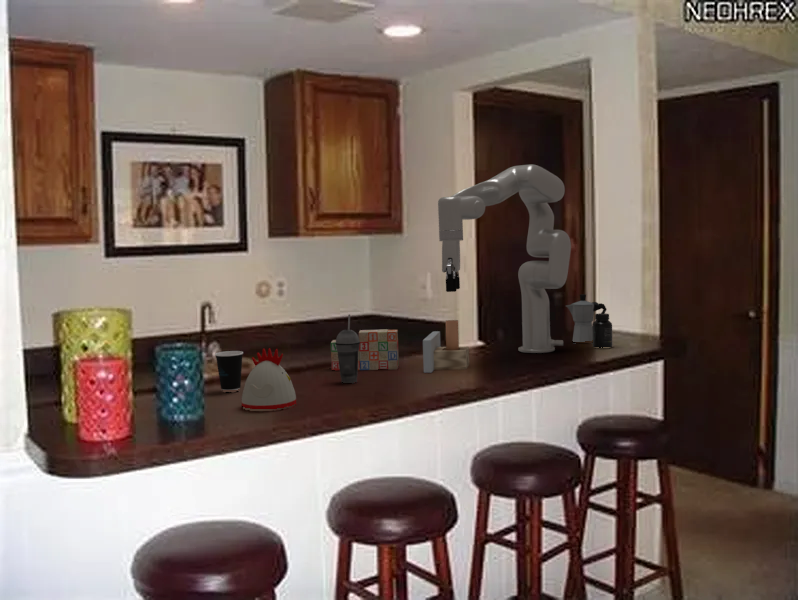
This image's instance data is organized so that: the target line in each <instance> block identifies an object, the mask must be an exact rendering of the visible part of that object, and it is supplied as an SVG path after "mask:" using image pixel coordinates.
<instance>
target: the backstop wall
mask: <svg viewBox="0 0 798 600" xmlns="http://www.w3.org/2000/svg"><path fill="white" fill-rule="evenodd" d="M437 347H441V331H438V330H437V331H432V332H431V333H429V334H428V335H427V336H426V337H425V338H424V339H423V340H422V360H423V373H424V374H425V373H426V374H428V373H429V374H430V373H431V374H432V373H433V371H435V370H434V351H435V350H436V349H437Z"/></svg>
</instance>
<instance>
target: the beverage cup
mask: <svg viewBox="0 0 798 600" xmlns="http://www.w3.org/2000/svg"><path fill="white" fill-rule="evenodd" d="M347 315H348V316H347V318H348V319H347V320H348V321H347V329H343V330H341V331H340V332H339V333H338V334H337V335H336V339H335V340H336V343H335V344H336V349H337V352H338V360H339V368H340V370H339V375H340V379H341V383H342V382H343V383H352V384H355V383H354V382H356V383H358V374H359V373H358V371H359V370H358V353H359V346H360V341H359V334H357V332H355V331H354V330H352V329H350V328H351V314H347ZM343 383H342V384H343Z"/></svg>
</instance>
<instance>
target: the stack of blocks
mask: <svg viewBox="0 0 798 600" xmlns="http://www.w3.org/2000/svg"><path fill="white" fill-rule="evenodd" d="M398 333H399V330H398V329H389V328H388V329H387V328H386V329H362V330H361V329H359V332H358V337H359V341H360V346H359V353H358V371H376V370H378V369H388V370H398V369H399V367H398V366H399V363H400V362H399V361H400V360H399V334H398ZM335 343H336V339H332V340H331V342H330V353H331V354H330V357H331V358H330V359H331V371H332V370H335V371H340V368H339V360H338V352H337V349H336V344H335ZM378 371H379V370H378Z"/></svg>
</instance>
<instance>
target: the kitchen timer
mask: <svg viewBox="0 0 798 600" xmlns="http://www.w3.org/2000/svg"><path fill="white" fill-rule="evenodd" d="M267 350H268V351H266V349H265V348H262V353H261V354H260V352H256V356H257V359H256V358H255V357H253V356H252V357H251V361H252V362H253V365H254V367H253V368H252V369H251V370H250V373H249V374H248V376H247V378H246V380H245V383H244V387H243V391H242V394H241V407H242V406H243V407H245V408H250V409H277V408H284V407H289V406H292V405H294V404H296V405H297V395H296V390H295V388H294V385H293V382H292V380H291V379H292V378H291V377H290V376H289V374H288V373H287V371H286V369H284V367H282V366H281V365H280V364H281V361H282V359H283V356H284V353H281V355H279V353H278V352H279V350H278V348H276V349H275V351H274V352H273V353H274V355H273V354H272V350H271V348H270V347H269V348H268V349H267ZM257 360H258V361H257Z"/></svg>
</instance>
